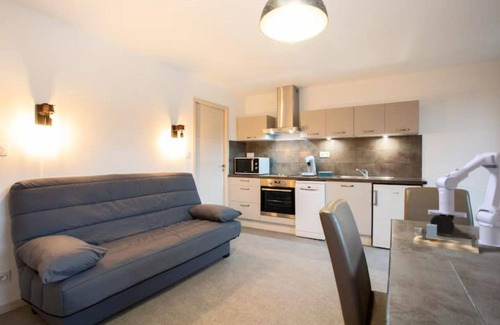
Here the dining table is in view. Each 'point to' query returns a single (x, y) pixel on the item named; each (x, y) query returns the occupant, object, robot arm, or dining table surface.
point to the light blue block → (431, 231)
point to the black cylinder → (441, 225)
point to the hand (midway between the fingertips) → (446, 230)
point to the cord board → (445, 241)
